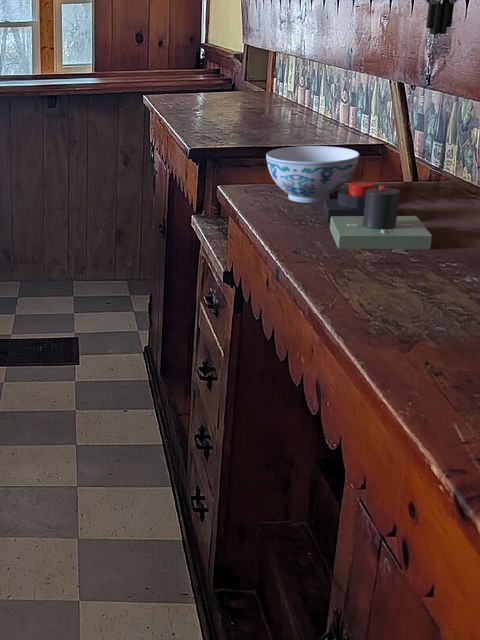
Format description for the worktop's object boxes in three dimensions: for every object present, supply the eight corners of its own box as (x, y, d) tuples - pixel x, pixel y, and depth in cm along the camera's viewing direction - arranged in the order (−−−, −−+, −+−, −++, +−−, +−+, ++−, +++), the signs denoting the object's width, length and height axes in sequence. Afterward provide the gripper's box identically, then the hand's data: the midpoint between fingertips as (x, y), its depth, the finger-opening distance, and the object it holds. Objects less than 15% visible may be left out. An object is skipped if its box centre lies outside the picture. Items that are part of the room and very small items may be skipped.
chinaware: (312, 213, 141) (316, 165, 138) (245, 198, 153) (247, 154, 150) (373, 198, 148) (379, 152, 145) (304, 185, 160) (308, 143, 157)
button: (371, 192, 137) (372, 181, 136) (374, 197, 133) (375, 186, 133) (346, 192, 137) (347, 181, 137) (349, 197, 134) (350, 186, 134)
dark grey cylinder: (398, 229, 122) (402, 191, 120) (365, 229, 123) (369, 192, 121) (392, 221, 126) (397, 185, 124) (360, 221, 127) (364, 185, 125)
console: (414, 229, 129) (416, 215, 128) (430, 249, 119) (432, 234, 118) (329, 229, 132) (330, 215, 131) (338, 249, 122) (339, 234, 121)
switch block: (388, 212, 139) (391, 187, 137) (396, 223, 133) (399, 197, 131) (322, 212, 141) (324, 188, 140) (327, 223, 135) (329, 197, 133)
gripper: (401, -109, 115) (385, 37, 122) (526, -119, 112) (502, 32, 119) (392, -104, 122) (377, 34, 129) (509, -114, 118) (487, 29, 125)
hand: (437, 33), depth 124 cm, fingers closed
